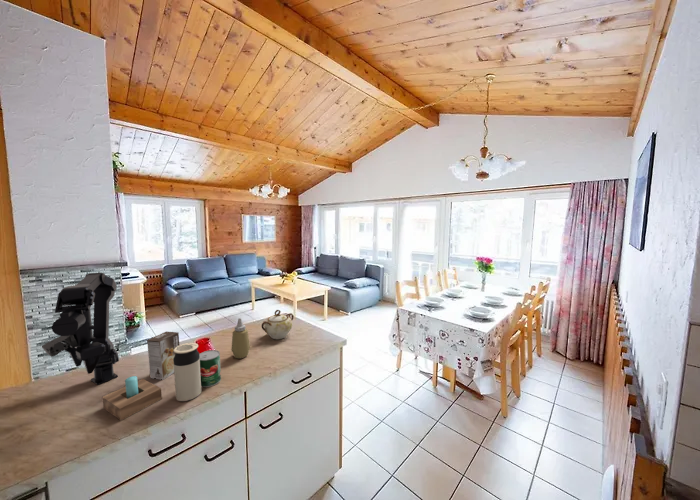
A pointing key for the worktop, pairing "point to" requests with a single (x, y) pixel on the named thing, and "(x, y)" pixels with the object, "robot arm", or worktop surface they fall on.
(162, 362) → the coffee box
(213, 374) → the canned tomato
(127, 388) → the peg
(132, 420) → the worktop surface
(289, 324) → the sugar bowl
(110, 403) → the socket block
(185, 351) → the travel mug
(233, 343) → the squeeze bottle
